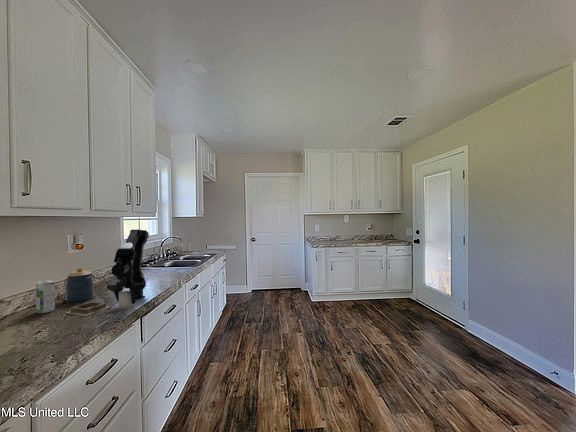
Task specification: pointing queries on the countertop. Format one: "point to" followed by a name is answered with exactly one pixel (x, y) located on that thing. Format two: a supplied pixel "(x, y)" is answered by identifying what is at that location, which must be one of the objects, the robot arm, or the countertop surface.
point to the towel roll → (125, 299)
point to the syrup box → (45, 296)
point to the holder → (88, 309)
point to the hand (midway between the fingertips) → (126, 303)
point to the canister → (79, 286)
